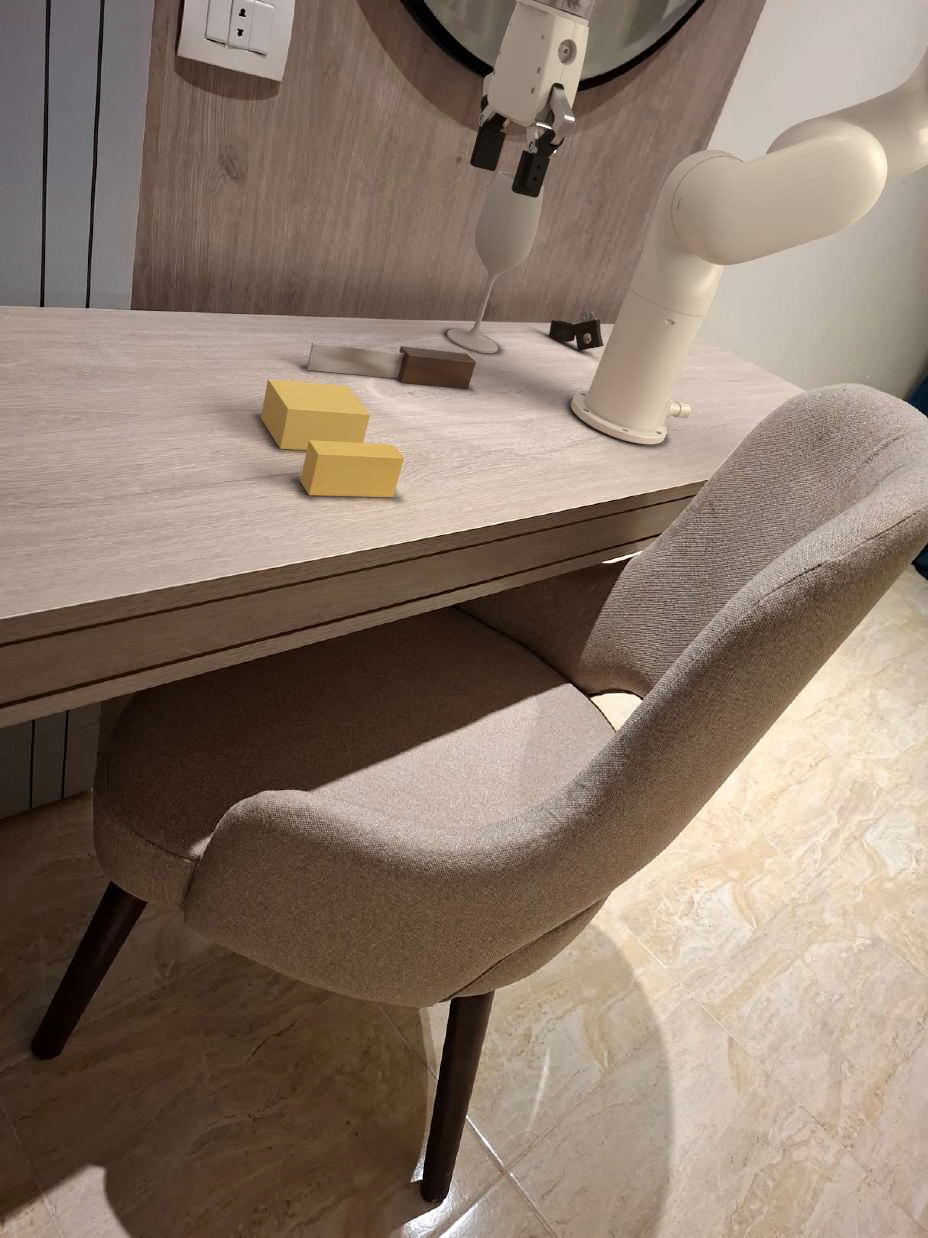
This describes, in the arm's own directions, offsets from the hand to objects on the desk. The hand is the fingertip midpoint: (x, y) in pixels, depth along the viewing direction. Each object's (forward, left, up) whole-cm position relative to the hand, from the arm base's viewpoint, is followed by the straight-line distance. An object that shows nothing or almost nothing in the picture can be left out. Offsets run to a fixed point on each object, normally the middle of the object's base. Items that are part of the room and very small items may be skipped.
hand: (502, 180), depth 98 cm
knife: (+9, +3, -22) cm, 24 cm away
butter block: (+24, +19, -22) cm, 38 cm away
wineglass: (-10, -12, -22) cm, 27 cm away
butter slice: (+24, +28, -22) cm, 43 cm away
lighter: (-29, -15, -22) cm, 40 cm away
